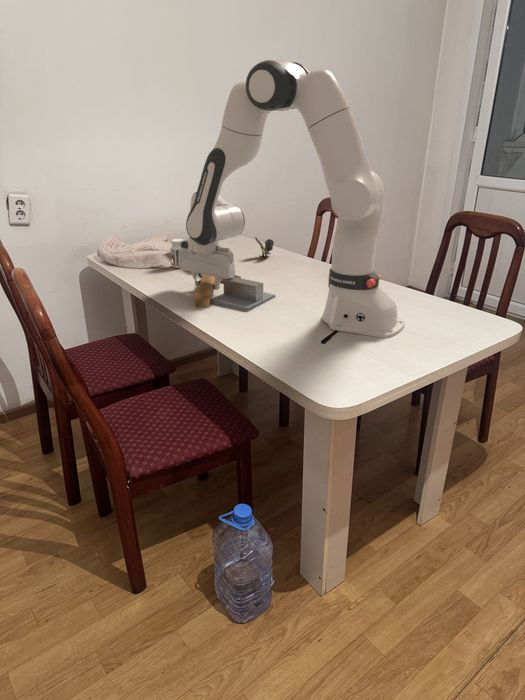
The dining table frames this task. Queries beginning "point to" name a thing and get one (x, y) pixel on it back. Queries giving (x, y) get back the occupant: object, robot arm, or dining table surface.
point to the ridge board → (240, 302)
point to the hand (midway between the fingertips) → (207, 287)
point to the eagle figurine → (267, 248)
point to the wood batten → (205, 291)
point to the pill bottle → (175, 252)
